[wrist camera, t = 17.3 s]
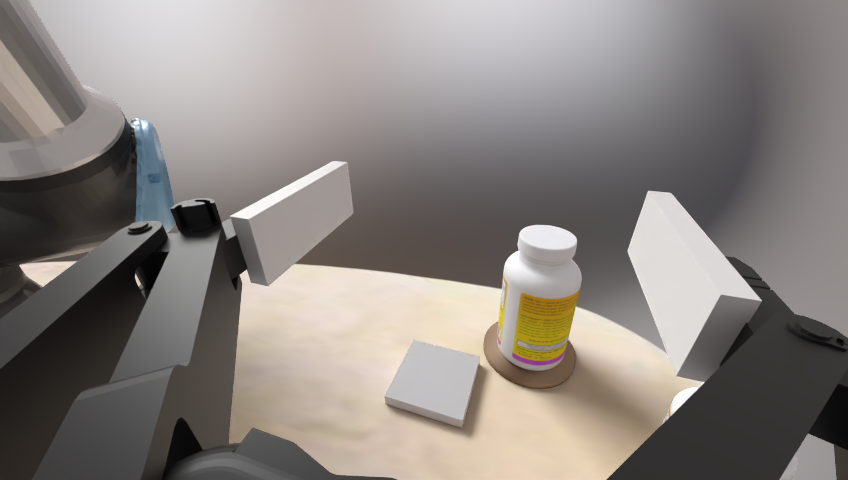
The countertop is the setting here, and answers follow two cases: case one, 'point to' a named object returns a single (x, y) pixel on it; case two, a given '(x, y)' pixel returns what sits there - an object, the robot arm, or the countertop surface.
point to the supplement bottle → (538, 298)
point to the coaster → (523, 375)
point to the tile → (434, 383)
